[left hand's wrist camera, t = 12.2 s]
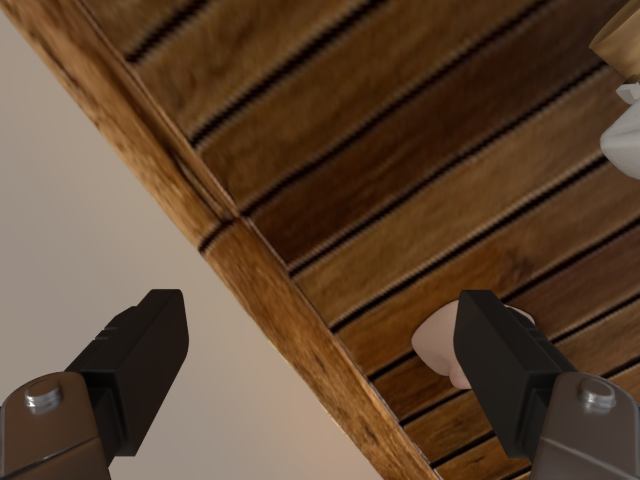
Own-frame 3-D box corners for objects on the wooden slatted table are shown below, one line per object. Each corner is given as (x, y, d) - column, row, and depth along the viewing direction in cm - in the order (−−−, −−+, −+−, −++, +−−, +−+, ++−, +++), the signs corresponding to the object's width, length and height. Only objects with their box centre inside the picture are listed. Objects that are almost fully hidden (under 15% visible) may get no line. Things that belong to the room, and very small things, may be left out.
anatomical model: (405, 379, 42) (461, 295, 38) (398, 356, 46) (449, 278, 42) (506, 419, 44) (569, 342, 40) (491, 394, 48) (548, 322, 44)
